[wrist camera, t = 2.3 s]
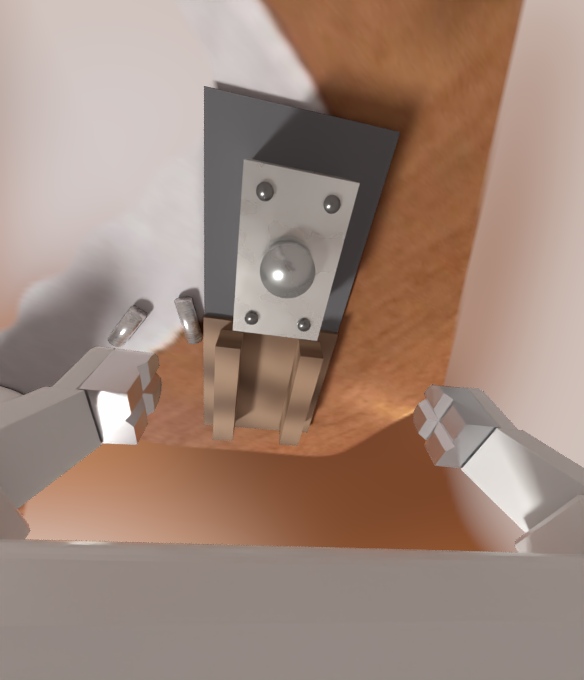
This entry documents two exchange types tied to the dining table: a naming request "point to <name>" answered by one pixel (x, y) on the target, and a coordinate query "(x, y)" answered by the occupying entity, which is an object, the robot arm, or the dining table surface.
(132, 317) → the pin
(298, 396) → the stand
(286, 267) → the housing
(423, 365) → the dining table surface
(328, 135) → the bench mat
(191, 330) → the pin
